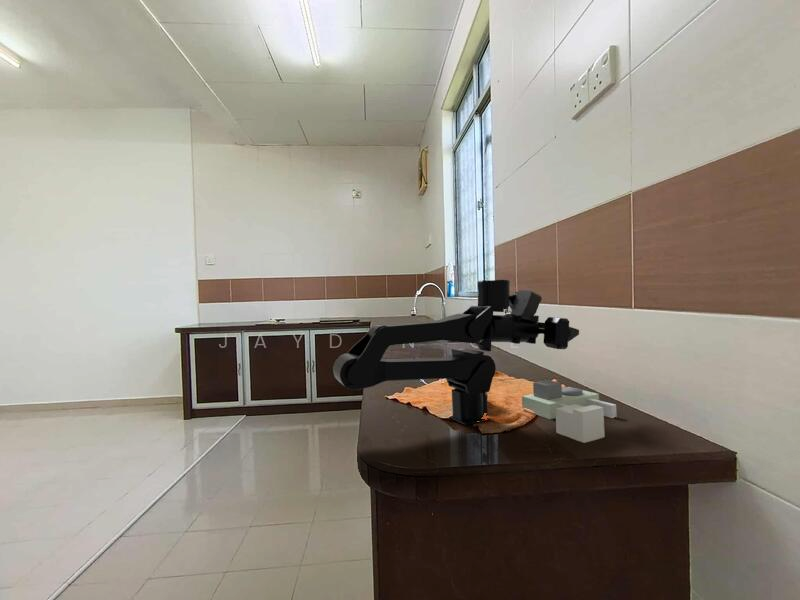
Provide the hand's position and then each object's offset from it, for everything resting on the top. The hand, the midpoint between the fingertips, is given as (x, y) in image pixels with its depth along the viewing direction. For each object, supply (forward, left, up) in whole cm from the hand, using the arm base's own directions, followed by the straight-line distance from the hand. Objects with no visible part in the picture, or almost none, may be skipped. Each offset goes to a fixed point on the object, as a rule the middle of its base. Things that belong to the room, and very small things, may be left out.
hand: (563, 329), depth 93 cm
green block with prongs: (-5, -6, -16) cm, 18 cm away
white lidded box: (-14, -16, -17) cm, 27 cm away
